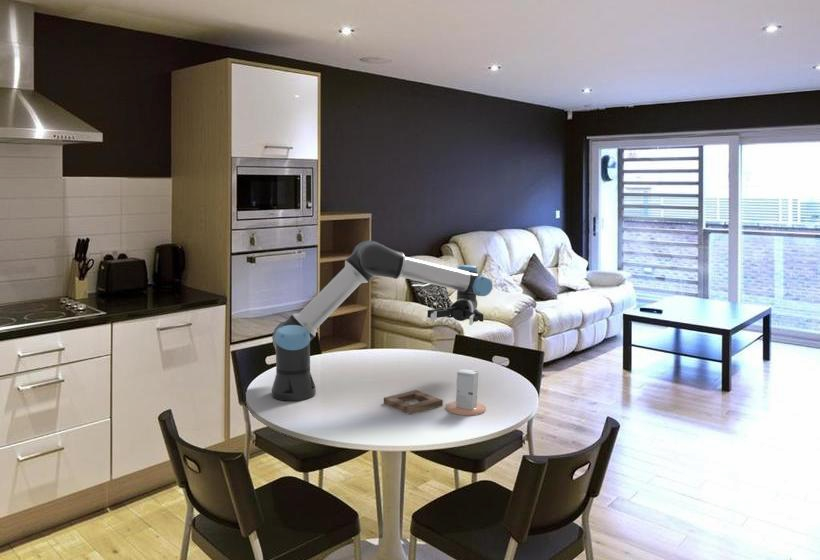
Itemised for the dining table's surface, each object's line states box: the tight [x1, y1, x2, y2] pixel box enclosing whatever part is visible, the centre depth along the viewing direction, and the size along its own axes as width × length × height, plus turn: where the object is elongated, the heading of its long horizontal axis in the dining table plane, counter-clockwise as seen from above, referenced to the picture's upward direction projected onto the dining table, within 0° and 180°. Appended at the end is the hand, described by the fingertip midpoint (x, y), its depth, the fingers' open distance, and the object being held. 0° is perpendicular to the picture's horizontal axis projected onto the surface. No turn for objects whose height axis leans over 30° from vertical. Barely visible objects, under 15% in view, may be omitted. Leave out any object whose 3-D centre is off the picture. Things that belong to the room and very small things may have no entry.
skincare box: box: [455, 368, 479, 410], centre depth 215 cm, size 6×4×12 cm
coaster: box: [445, 400, 487, 416], centre depth 216 cm, size 13×13×1 cm
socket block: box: [383, 389, 444, 415], centre depth 220 cm, size 14×14×2 cm
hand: (450, 319), depth 227 cm, fingers open, 13 cm apart
